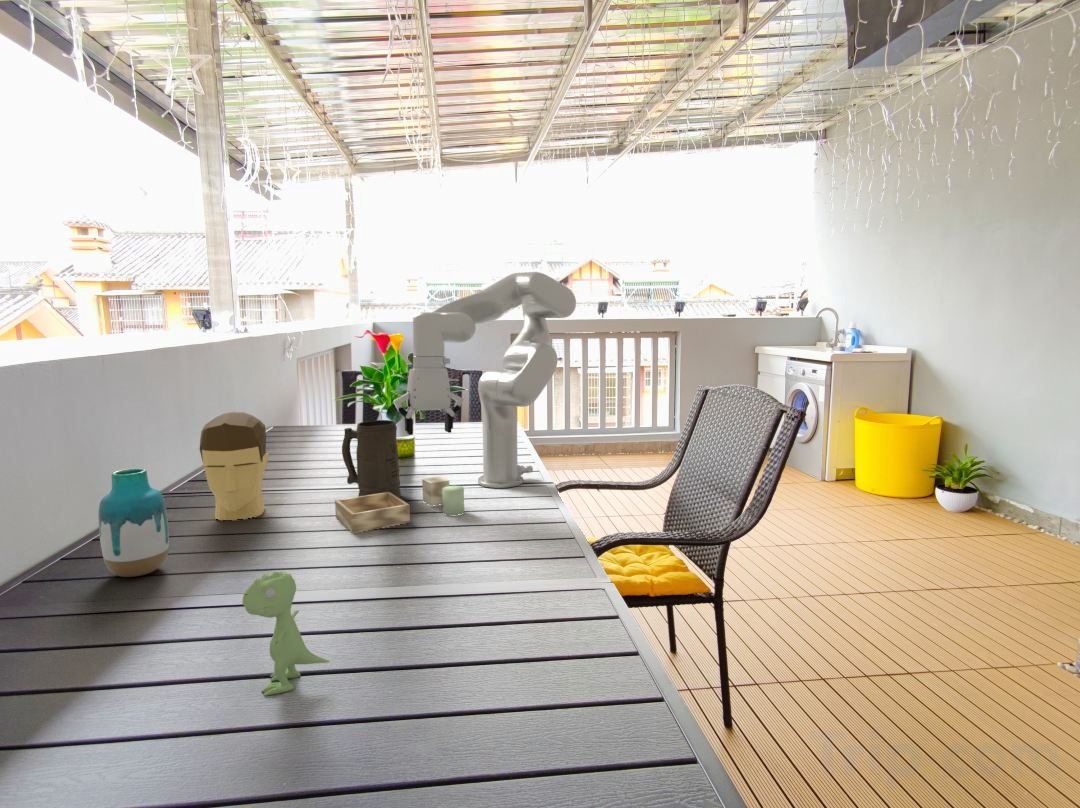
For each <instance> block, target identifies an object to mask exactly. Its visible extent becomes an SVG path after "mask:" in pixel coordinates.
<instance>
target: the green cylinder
mask: <svg viewBox="0 0 1080 808" xmlns="http://www.w3.org/2000/svg"><path fill="white" fill-rule="evenodd" d="M442 493H443V505H442V514H443V513H444V514H446V515H458V514H462V513H464V514H465V488H464V486H461V485H449V486H447V487H444V488H443V489H442Z"/></svg>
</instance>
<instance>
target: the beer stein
mask: <svg viewBox="0 0 1080 808" xmlns="http://www.w3.org/2000/svg"><path fill="white" fill-rule="evenodd" d="M396 423H397V422H396V421H394V420H390V419H381V420H380V419H377V420H367V421H362V422H359V423H357V426H356V430H354V429H352V427H347V428H344V437H343V441H342V447H341V454H342V455H341V456H342V458H343V462H344V465H345V467H346V469H347V471H348V472H347V473H348V476H347V478H346V483H347V484H348V485H351V484H357V487H358V489H359V490H358V495H357V497H359V496H366V495H372V494H378V493H385V492H390V493H392V494H394V495H395V496H397V497H398V498H401V495H402V492H401V489H400V486H401V480H400V465H399V450H398V443H397V433H398V432H397V431H398V428H397V424H396ZM354 439H355V440H357V441H356V442H357V446H356V451H355V452H356V468H355V466H354V461H353V458H352V455H351V454H352V453H351V442H352V440H354Z"/></svg>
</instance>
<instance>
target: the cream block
mask: <svg viewBox="0 0 1080 808" xmlns="http://www.w3.org/2000/svg"><path fill="white" fill-rule="evenodd" d="M421 481H422V485H421V486H422V502H423V501H424V502H426V503H427V504H429V505H431V506H433V505H439V504H443V493H442V489H443V488H444V487H447V486H450V480H449V479H448V478H445V477H443V476H441V475H440V476H434V477H428V478H427V477H426V478H422V480H421ZM427 504H426V505H427Z"/></svg>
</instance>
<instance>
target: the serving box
mask: <svg viewBox="0 0 1080 808" xmlns="http://www.w3.org/2000/svg"><path fill="white" fill-rule="evenodd" d="M334 504H335V505H334V507H335V508H334V509H335V519H336V518H337V519H336V520H337V521H338V520H339V521H340V522H341V523H340V522H339V521H338V522H339V523H340V524H342V526H344V527H345V528H346V527H347V528H348V529H349V530H350V531H351V532H350V531H349V530H348V529H347V528H346V529H347V530H348V531H349V532H350V533H351V534H354V533H356V534H359V533H358V532H361V533H364V532H363V531H366V532H368V531H367V530H372V529H377V530H379V529H378V528H382V529H384V528H383V527H387V528H390V527H389V526H393V527H395V526H394V525H398V526H401V525H400V524H403V525H405V524H404V523H409V522H410V523H411V507H410V506H411V505H410V504H409V503H407V502H406V501H405V500H403V499H401V497H399V498H398V497H397V496H395V495H394V494H392V493H390V492H385V493H378V494H372V495H366V496H359V497H358V496H354V497H348V498H347V497H346V498H343V499H342V498H339V499H335V500H334ZM410 523H409V524H410ZM372 531H373V530H372ZM354 535H355V534H354Z"/></svg>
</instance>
